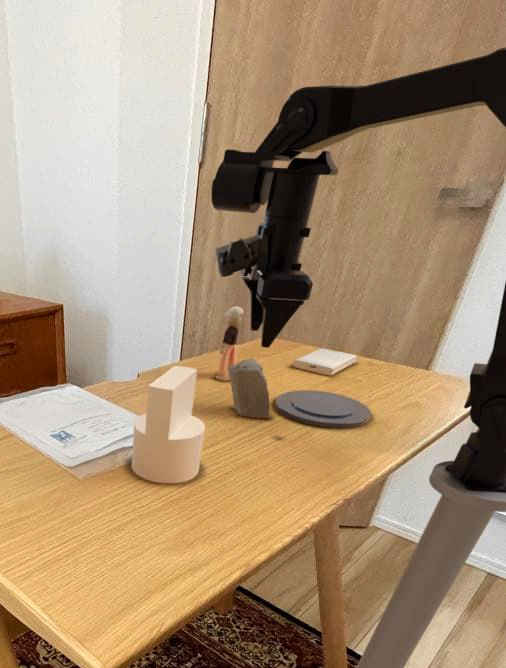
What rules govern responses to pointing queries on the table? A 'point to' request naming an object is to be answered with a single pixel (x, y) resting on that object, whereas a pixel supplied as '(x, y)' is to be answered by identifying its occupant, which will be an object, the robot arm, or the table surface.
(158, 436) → the base with upright slab
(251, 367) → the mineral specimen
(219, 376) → the grandmother figurine
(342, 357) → the hard drive
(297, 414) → the plate
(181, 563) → the table surface
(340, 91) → the robot arm
